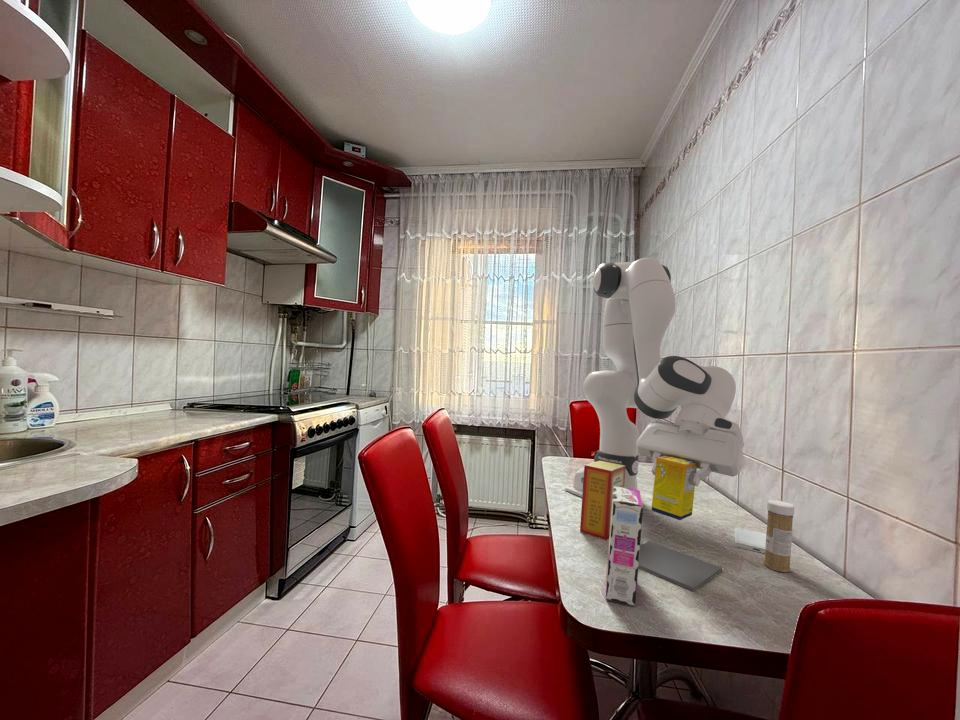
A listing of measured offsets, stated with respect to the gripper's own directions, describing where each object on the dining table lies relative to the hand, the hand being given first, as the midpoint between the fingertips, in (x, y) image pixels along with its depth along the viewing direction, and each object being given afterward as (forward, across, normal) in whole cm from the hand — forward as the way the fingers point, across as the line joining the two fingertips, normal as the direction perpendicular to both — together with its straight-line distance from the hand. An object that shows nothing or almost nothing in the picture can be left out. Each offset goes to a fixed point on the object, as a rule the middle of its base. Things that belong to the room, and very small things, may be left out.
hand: (673, 478), depth 84 cm
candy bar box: (+24, -1, +1) cm, 24 cm away
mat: (+12, 0, +13) cm, 17 cm away
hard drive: (-10, +7, +36) cm, 37 cm away
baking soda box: (+9, -18, +16) cm, 26 cm away
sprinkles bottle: (-2, +14, +26) cm, 30 cm away
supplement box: (+5, 0, +5) cm, 7 cm away
